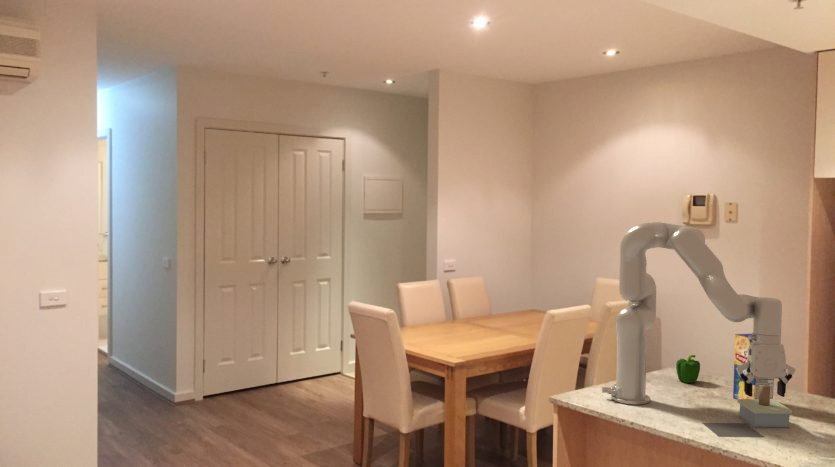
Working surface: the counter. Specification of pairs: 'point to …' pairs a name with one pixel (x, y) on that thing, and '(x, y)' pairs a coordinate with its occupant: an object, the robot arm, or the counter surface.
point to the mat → (732, 430)
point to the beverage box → (740, 358)
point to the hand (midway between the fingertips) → (764, 395)
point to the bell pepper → (688, 369)
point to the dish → (764, 419)
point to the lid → (764, 403)
